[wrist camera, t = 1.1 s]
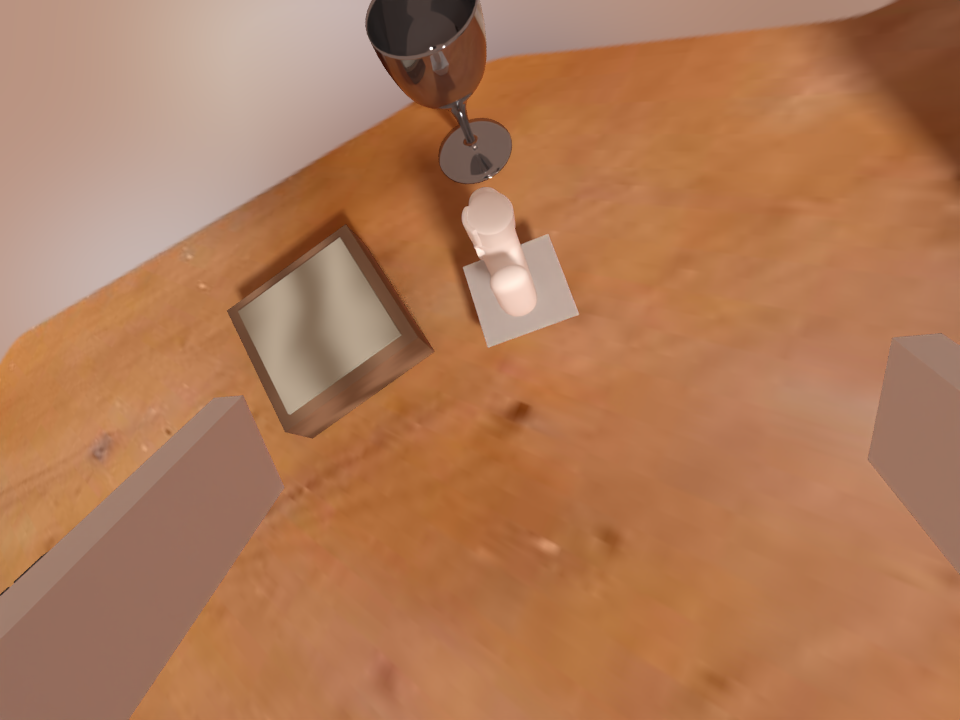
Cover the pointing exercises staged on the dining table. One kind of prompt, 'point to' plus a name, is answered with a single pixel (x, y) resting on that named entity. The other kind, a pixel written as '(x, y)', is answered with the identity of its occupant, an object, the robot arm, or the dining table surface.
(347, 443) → the dining table surface
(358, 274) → the walnut pedestal
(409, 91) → the wine glass
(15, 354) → the dining table surface
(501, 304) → the figurine
